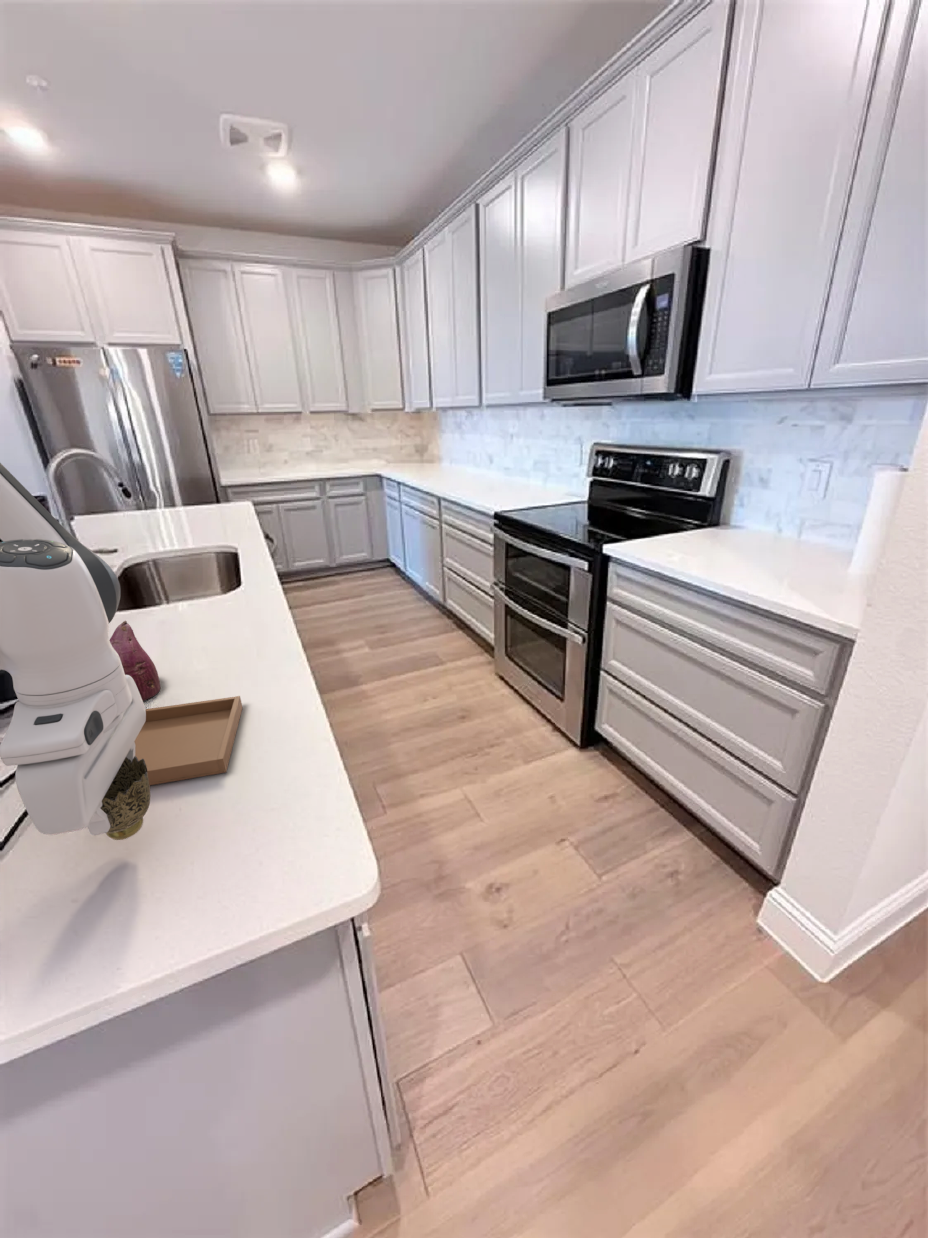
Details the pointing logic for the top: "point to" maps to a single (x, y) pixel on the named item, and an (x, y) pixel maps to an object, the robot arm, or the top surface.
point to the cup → (127, 799)
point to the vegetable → (135, 661)
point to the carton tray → (188, 739)
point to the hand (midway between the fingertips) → (116, 802)
